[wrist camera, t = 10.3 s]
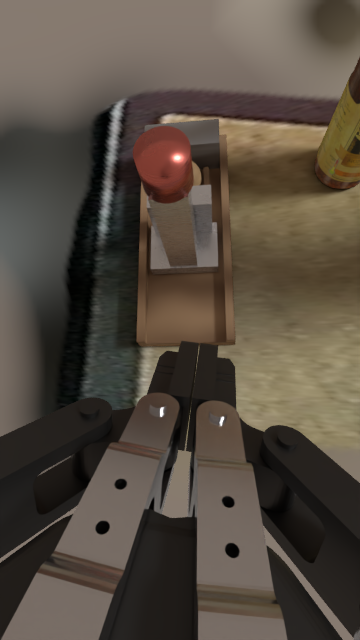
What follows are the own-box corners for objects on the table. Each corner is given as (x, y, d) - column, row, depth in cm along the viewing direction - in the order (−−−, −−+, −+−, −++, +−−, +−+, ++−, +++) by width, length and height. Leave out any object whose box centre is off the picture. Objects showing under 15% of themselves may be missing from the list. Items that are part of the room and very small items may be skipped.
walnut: (192, 169, 40) (190, 144, 36) (208, 195, 39) (207, 172, 35) (162, 184, 40) (156, 160, 36) (176, 210, 39) (172, 189, 35)
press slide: (218, 274, 36) (219, 171, 20) (153, 277, 37) (105, 179, 21) (216, 221, 38) (216, 86, 22) (154, 224, 39) (110, 96, 23)
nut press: (234, 344, 36) (237, 333, 31) (141, 346, 37) (128, 336, 32) (226, 151, 42) (227, 114, 37) (146, 157, 43) (136, 122, 38)
